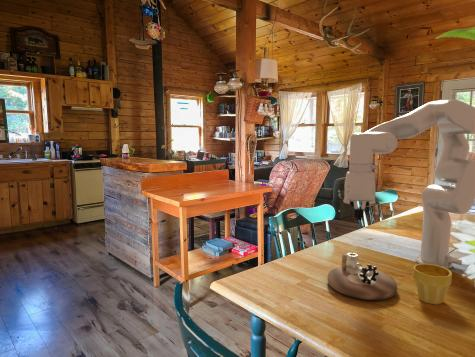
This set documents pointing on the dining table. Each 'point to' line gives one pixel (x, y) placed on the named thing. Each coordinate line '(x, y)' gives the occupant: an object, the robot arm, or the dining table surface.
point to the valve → (360, 268)
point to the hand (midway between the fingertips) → (358, 219)
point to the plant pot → (432, 282)
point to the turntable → (361, 283)
